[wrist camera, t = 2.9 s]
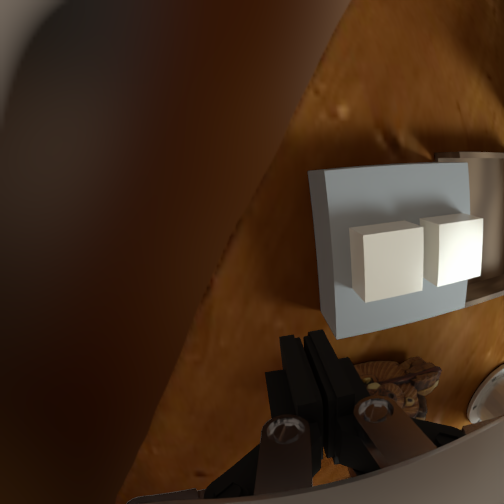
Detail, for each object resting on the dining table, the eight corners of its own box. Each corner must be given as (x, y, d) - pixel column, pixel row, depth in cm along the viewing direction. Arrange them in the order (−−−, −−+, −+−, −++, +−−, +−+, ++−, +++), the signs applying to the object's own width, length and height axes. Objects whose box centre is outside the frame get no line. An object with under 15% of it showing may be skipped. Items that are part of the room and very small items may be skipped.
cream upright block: (404, 220, 24) (423, 226, 21) (405, 278, 25) (422, 290, 22) (348, 227, 24) (363, 235, 21) (352, 288, 25) (365, 302, 22)
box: (510, 153, 28) (534, 154, 24) (508, 274, 32) (529, 285, 28) (434, 152, 28) (459, 151, 24) (436, 294, 32) (457, 310, 28)
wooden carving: (424, 336, 33) (468, 381, 24) (421, 366, 35) (460, 412, 25) (294, 371, 34) (310, 434, 24) (298, 400, 35) (313, 462, 25)
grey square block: (433, 162, 28) (467, 162, 23) (435, 287, 32) (464, 307, 26) (307, 171, 28) (324, 170, 23) (320, 311, 32) (336, 339, 26)
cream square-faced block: (462, 212, 24) (483, 218, 21) (461, 266, 25) (480, 275, 22) (419, 218, 24) (438, 224, 21) (419, 275, 25) (437, 286, 22)
